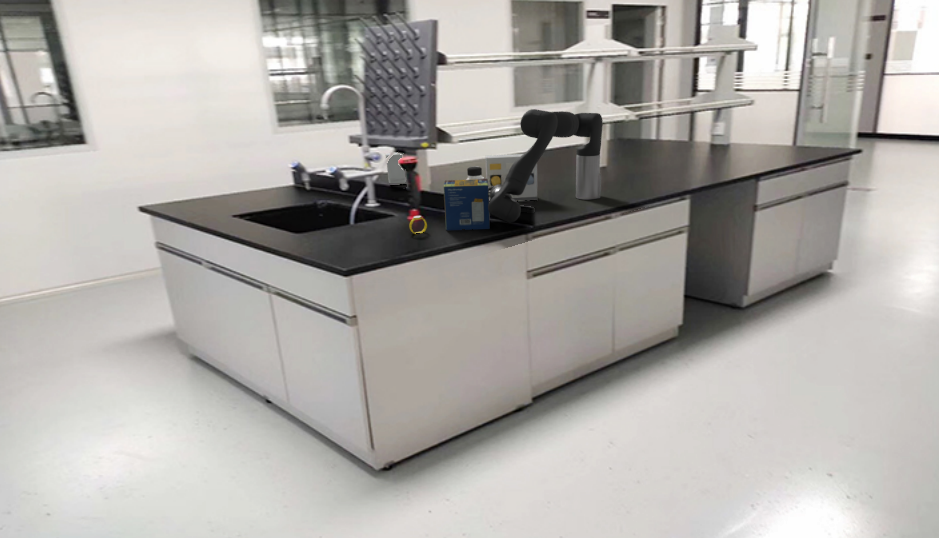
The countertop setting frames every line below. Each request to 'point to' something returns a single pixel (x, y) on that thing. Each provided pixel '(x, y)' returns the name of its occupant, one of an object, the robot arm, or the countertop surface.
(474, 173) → the medicine bottle
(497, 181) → the amber button
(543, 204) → the countertop surface
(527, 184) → the blue button
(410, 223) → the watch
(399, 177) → the grey shouldered block
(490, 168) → the panel
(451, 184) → the protein box
